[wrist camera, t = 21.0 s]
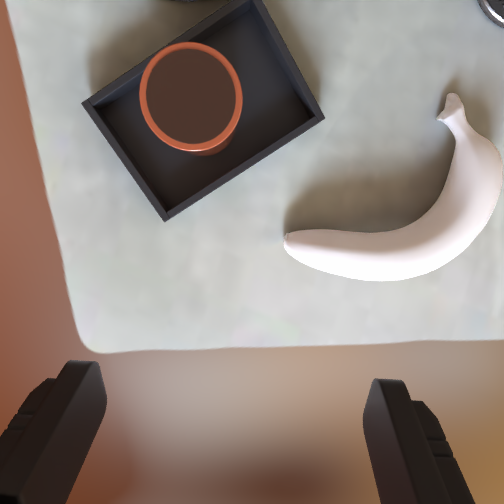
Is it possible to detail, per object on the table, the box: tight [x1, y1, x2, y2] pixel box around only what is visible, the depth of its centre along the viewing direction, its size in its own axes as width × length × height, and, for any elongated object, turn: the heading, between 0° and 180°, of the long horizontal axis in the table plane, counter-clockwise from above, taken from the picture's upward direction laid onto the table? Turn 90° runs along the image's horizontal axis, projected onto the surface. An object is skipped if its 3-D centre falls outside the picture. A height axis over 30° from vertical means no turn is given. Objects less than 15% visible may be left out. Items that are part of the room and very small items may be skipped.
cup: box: [139, 42, 243, 156], centre depth 25 cm, size 6×6×10 cm
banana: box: [283, 93, 503, 281], centre depth 31 cm, size 5×19×15 cm
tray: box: [81, 0, 325, 222], centre depth 29 cm, size 15×11×2 cm
